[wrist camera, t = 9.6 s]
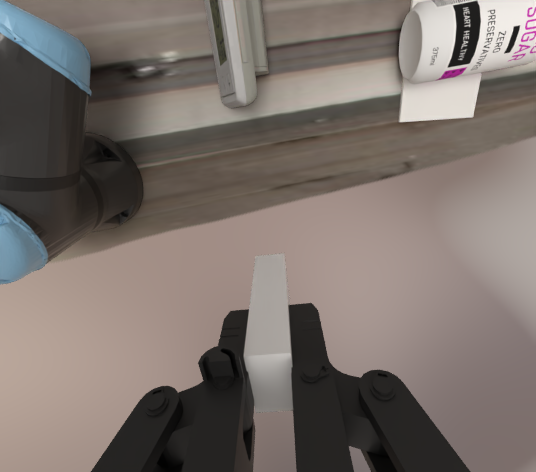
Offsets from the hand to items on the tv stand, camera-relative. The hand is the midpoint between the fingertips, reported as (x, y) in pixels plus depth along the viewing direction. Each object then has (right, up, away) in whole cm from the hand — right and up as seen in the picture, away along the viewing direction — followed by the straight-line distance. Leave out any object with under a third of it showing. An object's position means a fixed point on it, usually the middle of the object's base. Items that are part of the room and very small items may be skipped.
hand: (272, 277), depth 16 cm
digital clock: (-5, +28, +24) cm, 37 cm away
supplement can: (+16, +24, +19) cm, 35 cm away
